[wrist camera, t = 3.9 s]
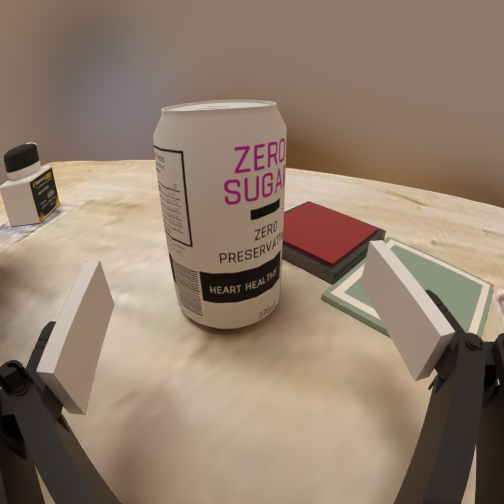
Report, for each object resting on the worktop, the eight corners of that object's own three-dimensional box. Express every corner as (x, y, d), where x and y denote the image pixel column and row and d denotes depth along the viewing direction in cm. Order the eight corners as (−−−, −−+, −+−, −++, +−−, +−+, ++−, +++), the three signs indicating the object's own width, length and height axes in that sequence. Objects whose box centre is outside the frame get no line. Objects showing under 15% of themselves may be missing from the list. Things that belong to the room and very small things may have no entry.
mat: (321, 298, 25) (322, 293, 25) (387, 240, 33) (388, 236, 32) (465, 378, 17) (468, 373, 16) (492, 288, 24) (494, 284, 24)
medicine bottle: (41, 223, 38) (22, 148, 32) (10, 227, 38) (-9, 157, 32) (60, 204, 44) (47, 136, 38) (30, 208, 44) (16, 145, 38)
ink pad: (245, 239, 33) (245, 227, 32) (307, 209, 40) (308, 199, 39) (332, 284, 26) (334, 270, 26) (383, 240, 33) (386, 228, 32)
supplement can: (203, 263, 29) (190, 100, 21) (289, 278, 27) (297, 100, 19) (161, 319, 23) (122, 117, 15) (264, 346, 21) (268, 111, 13)
